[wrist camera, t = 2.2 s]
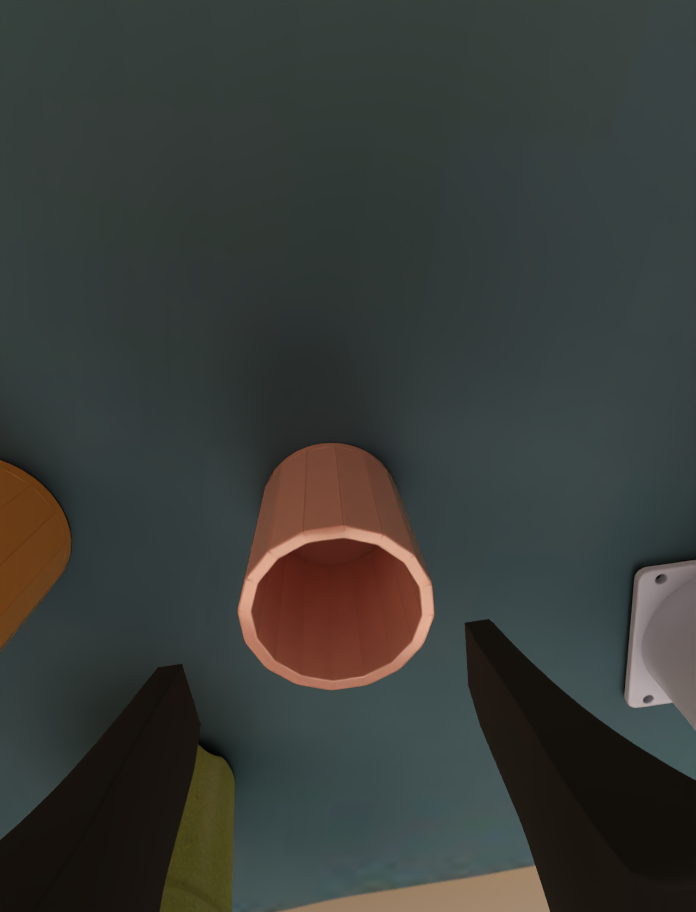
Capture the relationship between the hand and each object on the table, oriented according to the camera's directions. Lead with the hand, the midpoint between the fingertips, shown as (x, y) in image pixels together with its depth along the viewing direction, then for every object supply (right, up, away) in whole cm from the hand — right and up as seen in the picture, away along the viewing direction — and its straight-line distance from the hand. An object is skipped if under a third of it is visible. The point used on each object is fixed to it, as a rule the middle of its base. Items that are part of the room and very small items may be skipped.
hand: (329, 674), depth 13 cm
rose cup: (0, +3, +8) cm, 9 cm away
